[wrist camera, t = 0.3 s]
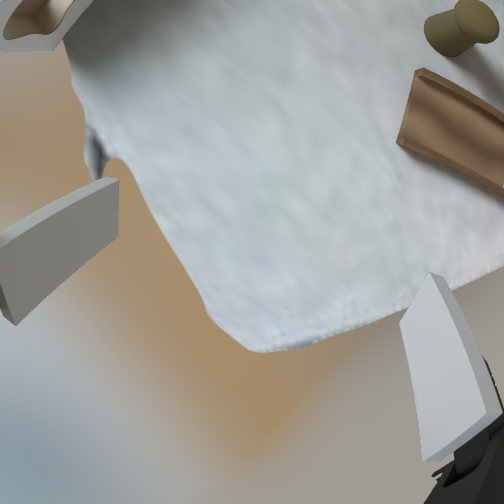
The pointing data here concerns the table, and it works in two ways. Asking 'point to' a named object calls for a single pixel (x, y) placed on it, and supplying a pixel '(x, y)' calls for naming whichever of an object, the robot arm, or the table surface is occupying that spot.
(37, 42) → the gable box
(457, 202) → the table surface
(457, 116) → the tray
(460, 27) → the cork
